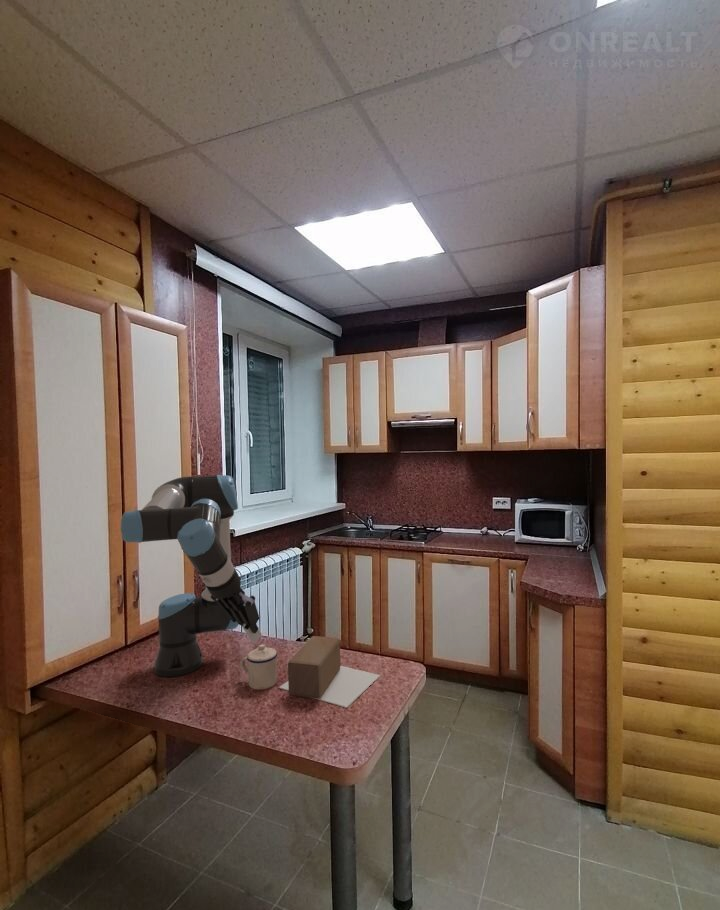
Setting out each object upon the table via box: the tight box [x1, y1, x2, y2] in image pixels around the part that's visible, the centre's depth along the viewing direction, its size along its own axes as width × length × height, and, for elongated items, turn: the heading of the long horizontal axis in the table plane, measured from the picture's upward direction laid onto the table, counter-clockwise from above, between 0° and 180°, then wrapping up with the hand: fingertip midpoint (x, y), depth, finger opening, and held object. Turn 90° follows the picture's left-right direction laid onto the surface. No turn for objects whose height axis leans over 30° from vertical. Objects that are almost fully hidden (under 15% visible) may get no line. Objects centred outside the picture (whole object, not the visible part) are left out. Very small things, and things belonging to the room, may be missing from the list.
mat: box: [278, 665, 381, 709], centre depth 140 cm, size 24×20×1 cm
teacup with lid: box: [240, 644, 278, 691], centre depth 142 cm, size 12×9×12 cm
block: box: [287, 635, 342, 699], centre depth 141 cm, size 10×10×20 cm
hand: (256, 638), depth 121 cm, fingers closed
